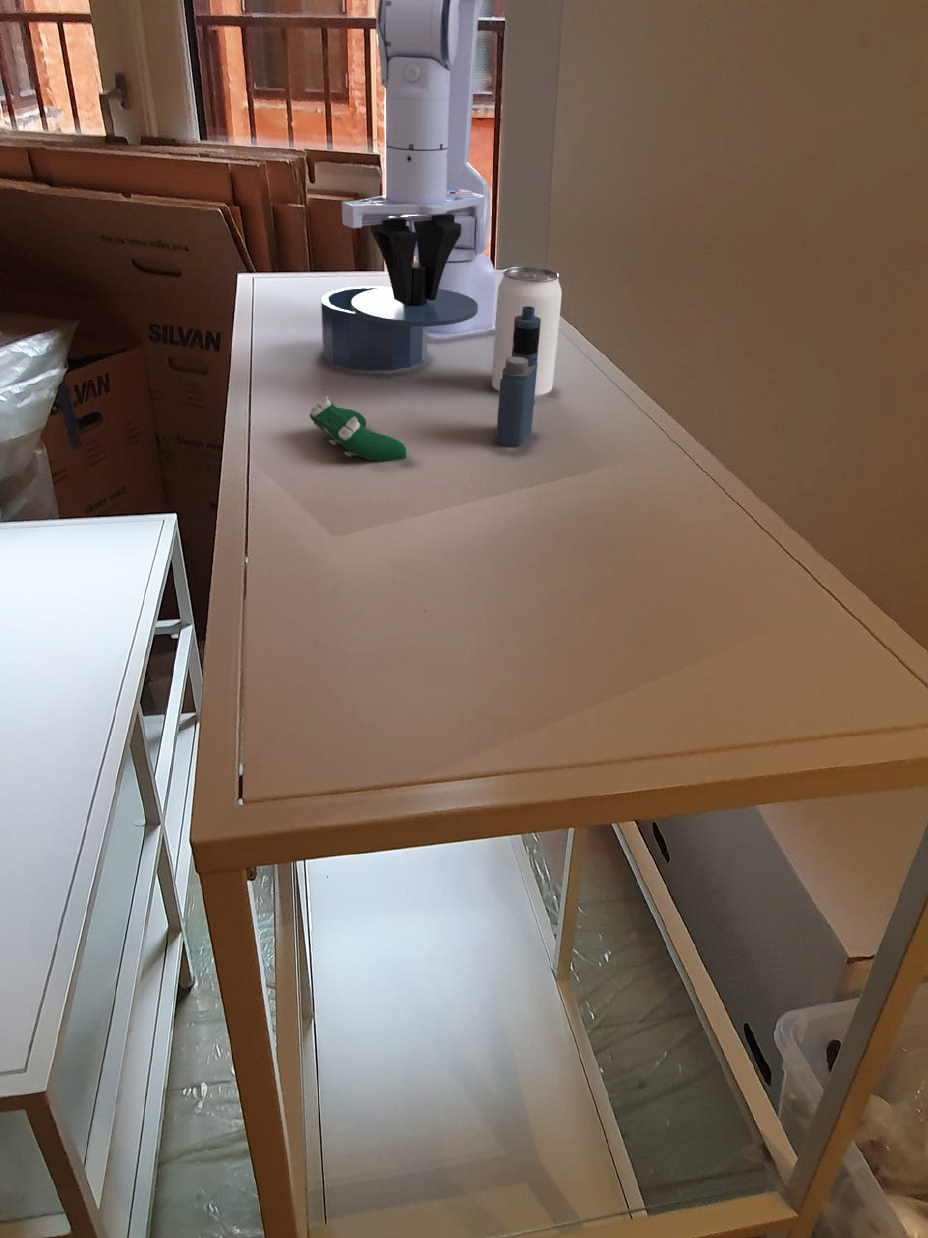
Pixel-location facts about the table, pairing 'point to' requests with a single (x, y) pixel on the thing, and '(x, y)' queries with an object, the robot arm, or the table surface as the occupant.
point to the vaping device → (519, 382)
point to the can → (545, 297)
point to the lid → (415, 304)
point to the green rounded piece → (355, 433)
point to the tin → (367, 337)
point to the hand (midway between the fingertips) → (414, 299)
